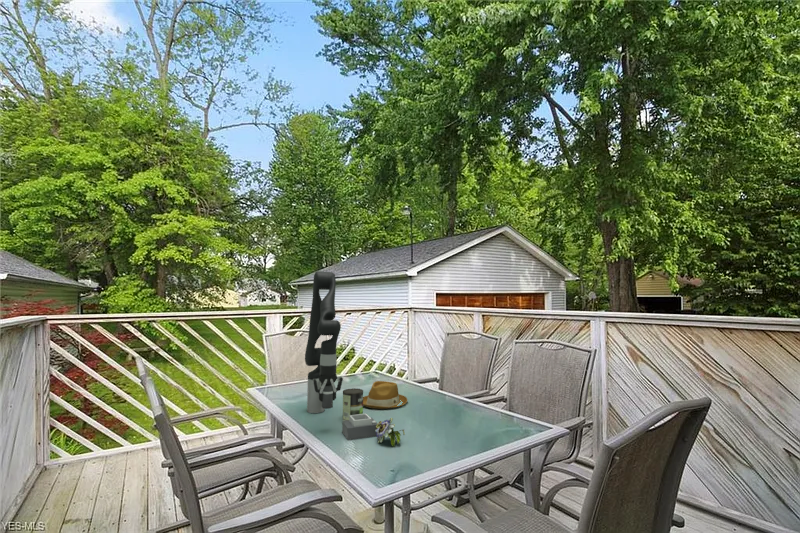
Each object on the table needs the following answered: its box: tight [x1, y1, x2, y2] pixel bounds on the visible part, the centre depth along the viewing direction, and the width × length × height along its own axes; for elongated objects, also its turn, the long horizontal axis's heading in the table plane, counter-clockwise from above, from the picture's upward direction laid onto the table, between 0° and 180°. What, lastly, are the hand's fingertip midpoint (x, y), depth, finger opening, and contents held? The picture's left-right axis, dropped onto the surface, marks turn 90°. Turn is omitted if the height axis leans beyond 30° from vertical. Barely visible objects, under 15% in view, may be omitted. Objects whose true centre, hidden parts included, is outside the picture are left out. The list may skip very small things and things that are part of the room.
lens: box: [322, 385, 334, 410], centre depth 183 cm, size 5×5×10 cm
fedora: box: [363, 380, 408, 410], centre depth 227 cm, size 27×29×12 cm
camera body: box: [341, 413, 379, 441], centre depth 178 cm, size 10×14×8 cm
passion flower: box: [375, 417, 406, 448], centre depth 169 cm, size 11×11×12 cm
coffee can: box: [342, 387, 364, 421], centre depth 199 cm, size 10×10×14 cm
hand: (327, 400), depth 182 cm, fingers closed on lens, 5 cm apart
